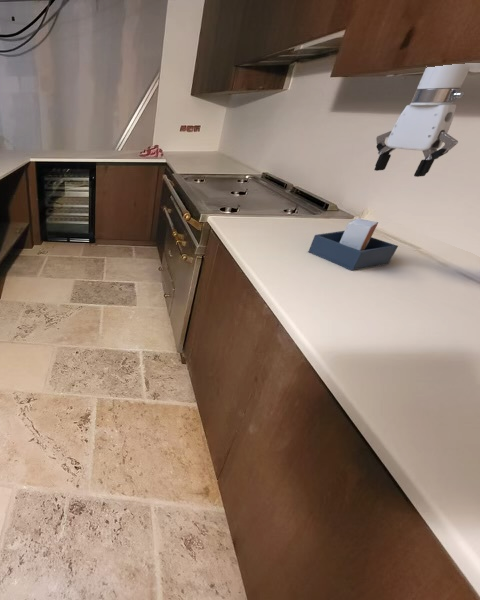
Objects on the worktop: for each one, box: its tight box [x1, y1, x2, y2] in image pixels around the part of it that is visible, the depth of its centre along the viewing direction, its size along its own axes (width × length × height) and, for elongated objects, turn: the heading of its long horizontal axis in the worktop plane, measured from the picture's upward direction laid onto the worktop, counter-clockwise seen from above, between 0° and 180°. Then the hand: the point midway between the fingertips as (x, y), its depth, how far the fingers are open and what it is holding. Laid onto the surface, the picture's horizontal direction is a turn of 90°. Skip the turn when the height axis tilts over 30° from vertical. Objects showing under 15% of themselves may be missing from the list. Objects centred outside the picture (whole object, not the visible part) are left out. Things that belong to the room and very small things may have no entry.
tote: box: [307, 230, 399, 272], centre depth 99 cm, size 15×15×6 cm
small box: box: [340, 217, 379, 251], centre depth 97 cm, size 8×6×10 cm
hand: (398, 173), depth 86 cm, fingers open, 9 cm apart
